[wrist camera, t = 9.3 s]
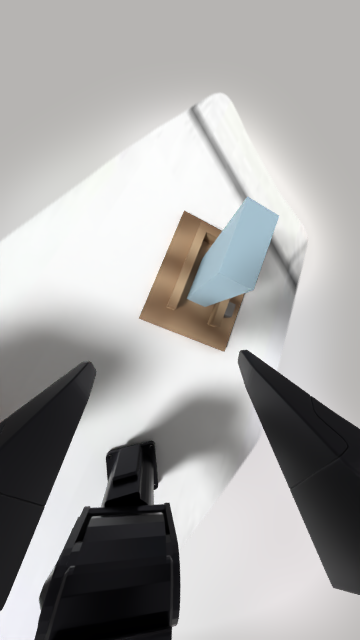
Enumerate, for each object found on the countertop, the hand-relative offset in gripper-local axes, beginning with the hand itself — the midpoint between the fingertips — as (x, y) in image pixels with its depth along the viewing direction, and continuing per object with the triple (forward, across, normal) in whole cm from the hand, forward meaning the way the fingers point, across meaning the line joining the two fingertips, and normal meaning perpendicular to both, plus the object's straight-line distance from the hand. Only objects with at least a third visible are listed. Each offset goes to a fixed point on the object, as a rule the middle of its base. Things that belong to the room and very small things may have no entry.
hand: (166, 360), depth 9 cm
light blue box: (+16, -5, 0) cm, 17 cm away
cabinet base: (+17, -5, +1) cm, 18 cm away
